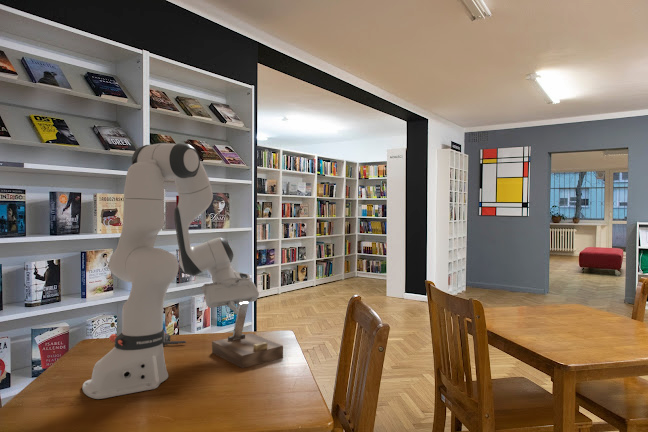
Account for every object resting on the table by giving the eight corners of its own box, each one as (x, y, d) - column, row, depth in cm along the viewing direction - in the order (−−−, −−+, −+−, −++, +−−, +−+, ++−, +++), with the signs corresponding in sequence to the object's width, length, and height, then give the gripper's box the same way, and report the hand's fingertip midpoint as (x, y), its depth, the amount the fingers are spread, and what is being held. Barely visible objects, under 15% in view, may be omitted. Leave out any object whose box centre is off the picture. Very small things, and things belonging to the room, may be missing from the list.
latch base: (242, 368, 137) (242, 350, 137) (212, 352, 152) (212, 336, 152) (282, 357, 148) (283, 340, 148) (251, 343, 163) (251, 328, 163)
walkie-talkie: (128, 348, 157) (185, 346, 160) (128, 336, 157) (185, 334, 160) (135, 341, 166) (189, 339, 169) (135, 330, 166) (189, 328, 169)
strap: (240, 304, 150) (239, 302, 151) (233, 339, 154) (231, 338, 155) (248, 302, 153) (247, 301, 153) (241, 338, 156) (239, 336, 157)
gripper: (202, 279, 152) (216, 311, 145) (252, 274, 166) (267, 303, 159) (197, 290, 156) (209, 322, 149) (246, 284, 169) (260, 313, 162)
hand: (239, 312), depth 154 cm, fingers closed
